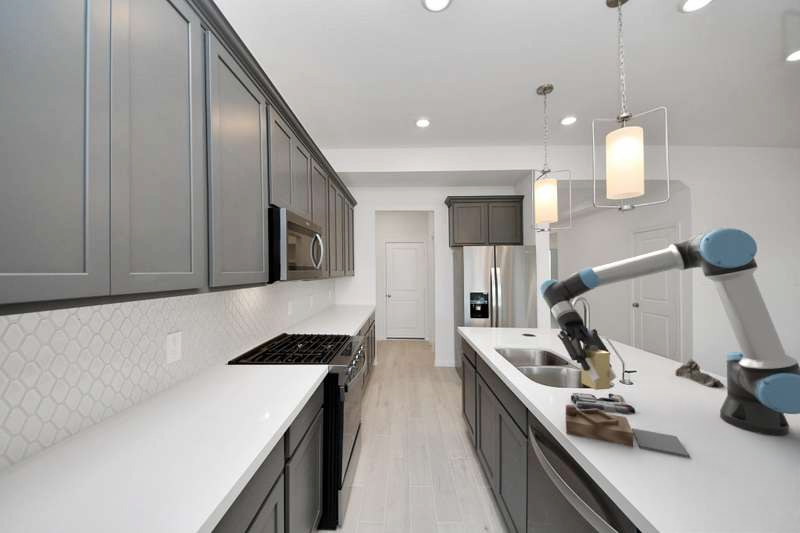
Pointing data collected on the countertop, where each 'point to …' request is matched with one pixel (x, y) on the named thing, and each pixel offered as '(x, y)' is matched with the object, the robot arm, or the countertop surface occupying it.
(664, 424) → the countertop surface
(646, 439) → the mat
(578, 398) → the toy gun
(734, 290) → the robot arm
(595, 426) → the body
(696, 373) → the rock
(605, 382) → the labelled wooden block
